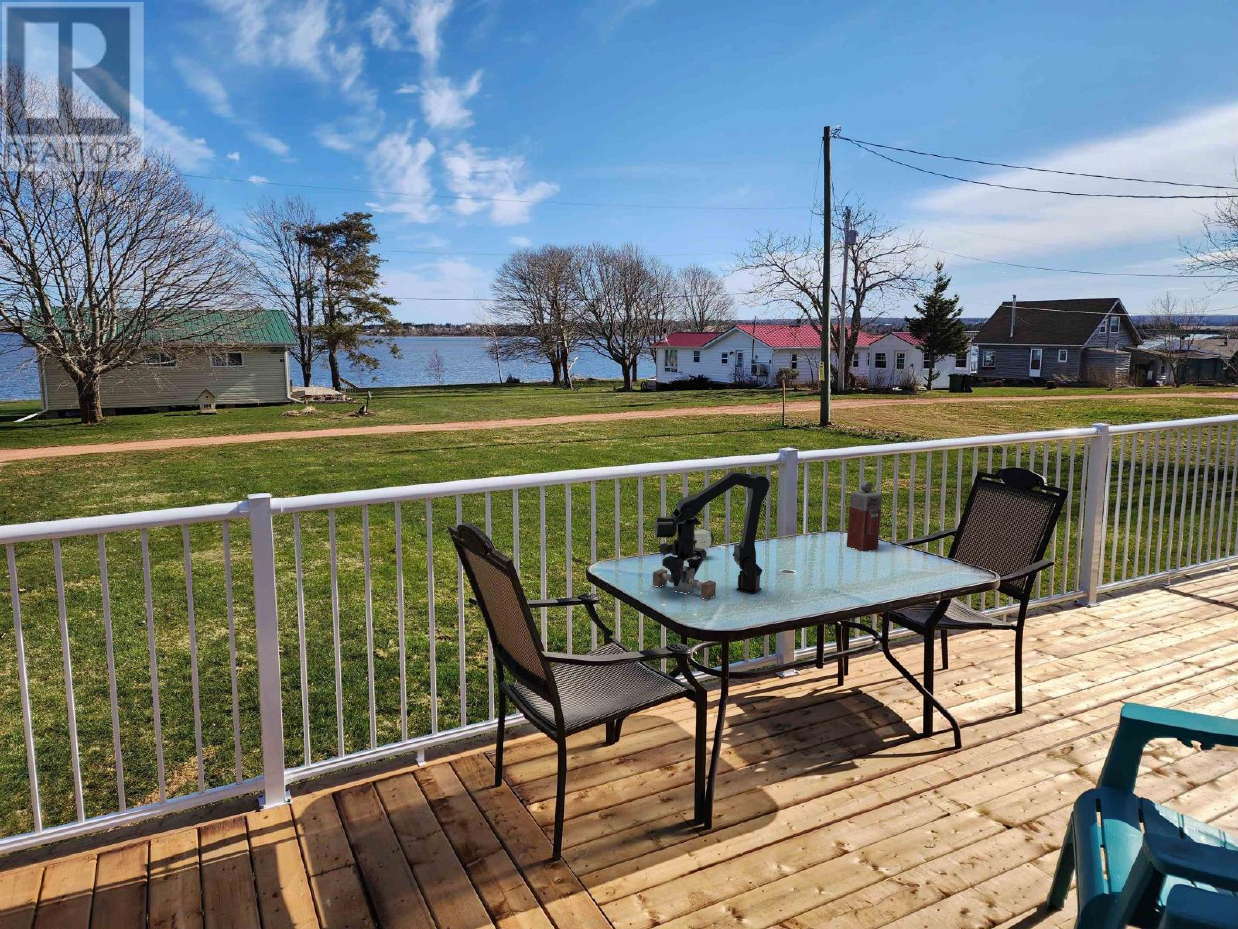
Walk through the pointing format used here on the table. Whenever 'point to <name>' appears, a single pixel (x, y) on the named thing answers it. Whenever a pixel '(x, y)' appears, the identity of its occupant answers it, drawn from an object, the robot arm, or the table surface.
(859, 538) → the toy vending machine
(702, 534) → the pneumatic valve
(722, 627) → the table surface
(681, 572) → the robot arm
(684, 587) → the coupling block
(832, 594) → the table surface
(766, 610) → the table surface
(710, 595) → the shaft stand
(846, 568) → the table surface
